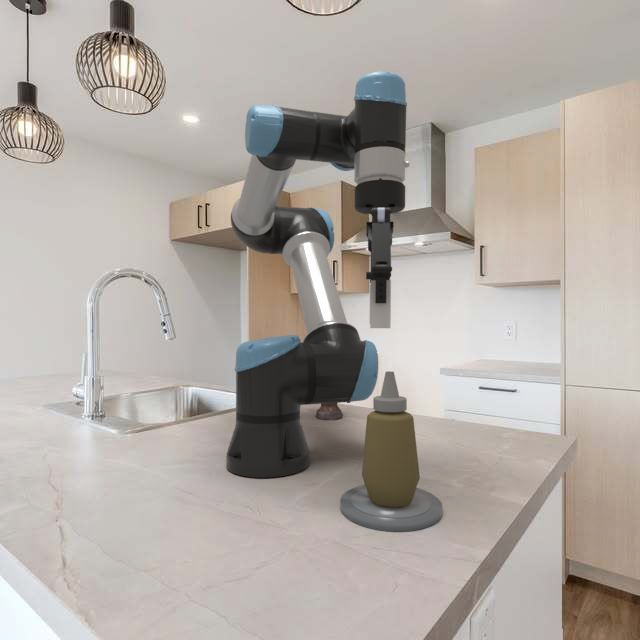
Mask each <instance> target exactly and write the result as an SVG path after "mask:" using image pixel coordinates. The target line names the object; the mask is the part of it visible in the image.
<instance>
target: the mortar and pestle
mask: <svg viewBox="0 0 640 640" xmlns="http://www.w3.org/2000/svg"><path fill="white" fill-rule="evenodd" d="M338 404H339V403H325V404H320V407H319V408H318V409H317V410H316V412H315V418H317V419H321V420H330V421H335V420H337V419H341V418H342V417H344V415H343V412H342V410H341V408H340V407H339V406H338ZM334 419H335V420H334Z"/></svg>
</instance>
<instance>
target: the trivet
mask: <svg viewBox="0 0 640 640" xmlns="http://www.w3.org/2000/svg"><path fill="white" fill-rule="evenodd" d="M339 501H340V511H341V512H340V513H341V514H342V515H343V516H344V517H345V518H346V519H347V520H349V522H352V523H354V524H356V525H359V526H361V527H364V528H367V529H372V530H376V531H383V532H393V533H395V532H397V533H398V532H399V533H401V532H413V531H419V530H423V529H428V528H429V527H432V526H433V525H435V524H437V523H438V522H440V520H441V518H442V517H443V504H442V502H441V500H440V499H439V498H438V496H436V495H435V494H433V493H431V492H430V491H427V490H425V489H422V488H419V487H416V491H415V494H414V497H413V500H412V502H411V503H410V504H409V505H406V506H402V507H385V506H380V505H377V504H375V503H373V502H372V501H371V500H370V498H369V495H368V492H367V489H366V486H365V484H364V485H359V486H356V487H352V488H350V489H348V490H347V491H345V492H344V493H343V494H342V495H341V497H340V500H339Z"/></svg>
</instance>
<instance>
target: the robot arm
mask: <svg viewBox="0 0 640 640" xmlns="http://www.w3.org/2000/svg"><path fill="white" fill-rule="evenodd" d="M406 93H407V92H406V83H405V81H404V79H403V78H402V76H400V75H399V74H397V73H394V72H390V71H385V70H384V71H383V70H382V71H372V72H369V73H367V74H365V75H363V76H361V77H360V78H359V79H358V80H357V81H356V84H355V91H354V97H353V101H354V108H353V109H352V111H350V112H349V114H348V115H342V114H333V113H327V112H326V113H325V112H318V111H312V110H311V111H309V110H302V109H296V108H289V107H281V106H278V105H274V104H273V105H262V104H261V105H260V104H259V105H258V104H256V105H252V106H250V107H249V109H248V111H247V113H246V121H245V130H244V131H245V132H244V133H245V134H244V140H245V141H244V142H245V143H244V144H245V148H246V152H247V153H248V154H251V157H250V161H249V163H248V168H247V172H246V175H245V177H244V178H245V179H244V182H243V185H242V189H241V193H240V197H239V198H238V199H237V200H236V201H235V202H234V204H233V206H232V210H231V212H230V225H231V228H232V231H233V233H234V234H235V236H236V237H237V238H238V240H239V241H240V242H241V243H242V244H244V246H245V247H247V248H249V249H250V250H253V251H254V252H257V253H261V254H265V255H267V254H268V255H281V256H282V258H283V261H284V262H285V264H286V265H288V266H289V267H290V268H291V270H292V275H293V279H294V282H295V283H294V284H295V287H296V291H297V295H298V300H299V303H300V308H301V312H302V318H303V321H304V326H305V330H306V335H305V337H304V338H303V341H302V340H301V338H300V337H299V335H297V334H288V335H278V336H277V335H275V336H271V337H270V336H269V337H263V338H259V339H252V340H249V341H244V342H243V343H241V344H240V345H238V347H237V348H236V354H235V366H234V372H235V425H234V430H233V433H232V434H231V435H232V436H231V439H230V441H229V445H228V448H227V451H226V461H225V462H226V464H225V465H226V469H227V470H228V471H229V472H231V473H233V474H235V475H238V476H242V477H246V478H247V477H248V478H277V477H284V476H285V477H286V476H289V475H290V476H291V475H293V474H297V473H300V472H302V471H304V470H306V469H307V468H308V467H309V466H310V463H311V462H310V461H311V460H310V459H311V457H310V454H311V453H310V448H309V445H308V441H307V439H306V435H305V433H304V430H303V426H302V424H301V406H302V405H303V406H304V405H321V404H325V403H338V404H339V403H347V404H350V403H351V402H359V401H360V402H362V401H365V400H368V399H369V398H370V397H371V395H372V394H373V393H374V391H375V388H376V386H377V382H378V377H379V376H378V375H379V356H378V355H379V354H378V349H377V346H376V345H375V344H374V343H373V341H370V340H367V339H364V340H361V336H360V334H359V332H358V329H357V328H356V327H355V326H353V325H352V324H350V323H348V321H347V317H346V314H345V311H344V308H343V305H342V301H341V298H340V294H339V292H338V291H339V290H338V288H337V287H336V283H335V282H336V281H335V279H334V276H333V273H332V270H331V266H330V263H329V259H328V257H329V254H330V253H331V252H332V251H333V248H334V244H335V232H334V229H335V227H334V224H333V220H332V218H331V216H330V214H329V213H328V212H327V211H325V210H324V209H318V208H315V207H292V206H279V205H277V204H278V202H279V199H280V198H281V195H282V193H283V190H284V188H285V186H286V183H287V181H288V179H289V176H290V174H291V172H292V170H293V167H294V165H295V164H296V161H297V160H299V161H312V162H320V163H329V164H331V166H333V167H334V168H336V169H337V170H339V171H342V172H351V171H354V173H353V174H354V182H355V183H356V186H355V187H354V210H355V211H356V212H358V213H359V214H364V215H367V214H368V215H369V214H370V215H371V221H367V222H366V226H365V227H366V232H365V234H366V237H367V250H368V252H370V271H366V272H365V279H366V280H369V325H370V326H369V329H391V310H392V309H391V307H392V306H391V304H392V303H391V299H392V292H391V289H392V285H391V284H392V280H391V277H392V271H393V266H392V253H391V252H392V251H391V250H392V249H391V248H392V247H391V246H392V245H393V233H394V221H391V214H392V215H393V214H397V213H400V212H402V211H404V209H405V207H406V185H405V184H404V181H405V180H406V169H407V168H410V161H409V160H405V159H406V139H407V138H406V137H407V134H406V132H407V129H406V128H407V106H408V103H407V99H406V98H407V96H406V95H407V94H406ZM301 341H302V342H301Z"/></svg>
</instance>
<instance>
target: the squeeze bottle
mask: <svg viewBox="0 0 640 640" xmlns="http://www.w3.org/2000/svg"><path fill="white" fill-rule="evenodd" d="M372 399H373V400H372V403H373V408H372V409H373V411H371V412H370V413H369V414H367V416H366V425H365V436H364V447H363V457H362V458H363V459H362V469H361V476H362V477H361V478H362V479H363V483H364V485H365V486H366V489H367V492H368V495H369V498H370V500H371V501H372V502H373V503H375V504H377V505H380V506H385V507H402V506H406V505H409V504H410V503H411V502H412V500H413V497H414V494H415V491H416V488H418V484H419V481H420V478H421V477H420V469H419V468H420V467H419V458H418V448H417V439H416V431H415V422H414V421H415V420H414V416H413V415H412V414H411V413H410V412H409V411H407V409H408V407H407V406H408V405H407V404H408V403H407V400H408V399H407V397H405V396H400V394H399V388H398V384H397V380H396V375H395V372H394V371H391V370H390V371H388V370H387V371H385V373H384V379H383V382H382V388H381V392H380V395H377V396H374V397H373V398H372Z"/></svg>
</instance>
